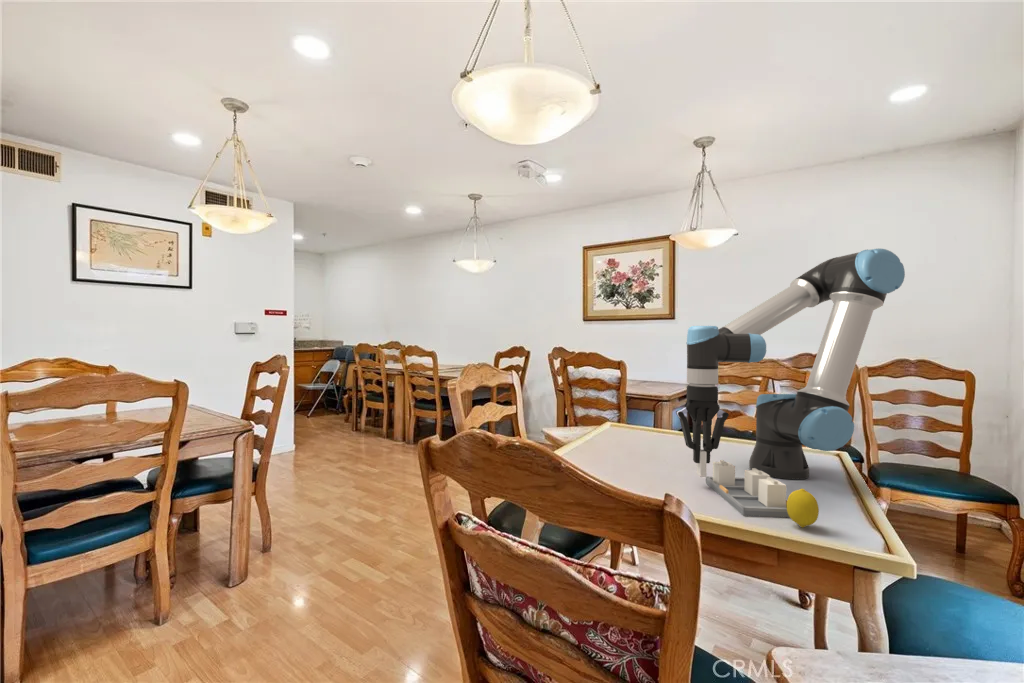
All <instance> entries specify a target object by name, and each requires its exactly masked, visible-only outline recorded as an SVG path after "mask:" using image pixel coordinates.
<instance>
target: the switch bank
mask: <svg viewBox="0 0 1024 683" xmlns="http://www.w3.org/2000/svg"><path fill="white" fill-rule="evenodd" d="M705 484H706V485H707V486H709V488H710V489H712V490H713V491H714V492H715V493H716V494H718V495H719V496H720V497H721V498H722V499H724V500H725V501H726V502H727V503H728V504H729V505H730V506H732V508H734V509H735V510H736V511H737V512H738V513H739V514H740V515H741V516H743V517H762V518H763V517H764V518H765V517H766V518H786V517H787V518H788V519H789V518H790V517H789V515H788V512H787V499H786V508H784V507H766V506H765V505H764V504H762V503H761V502H760V501H758V496H752V495H750V494H749V493H748V492H746V491H745V490H744V484H745V477H736V476H735V486H729V485H718V484H716V483H715V482H714V481H713V476H706V477H705ZM790 519H791V518H790Z"/></svg>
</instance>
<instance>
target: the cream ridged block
mask: <svg viewBox="0 0 1024 683" xmlns="http://www.w3.org/2000/svg"><path fill="white" fill-rule="evenodd" d="M767 477H771V476H770V475H768V474H766V473H765V472H763V471H759V470H757V469H756V468H752V470H751V469H745V470H744V478H745V484H744V490H745V491H746V492H748V493H749V494H750V495H752V496H758V490H759V479H767Z"/></svg>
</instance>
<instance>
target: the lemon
mask: <svg viewBox="0 0 1024 683" xmlns="http://www.w3.org/2000/svg"><path fill="white" fill-rule="evenodd" d="M786 500H787V512H788V515H789V517H790V519H791V520H792V521H793V522H794V523H795V524H797V525H798V526H799V528H805V527H808V526H811V525H813V524H815V523H816V522H817V520H818V519H819V513H820V512H819V511H820V509H819V503H818V501H817V498H816V497H815V496H814V495H813V494H812V493H811V492H809V491H807V490H806V489H805V488H800V489H795V490H793V491H792V492H791V493H790V494H789V495H788V497H787V498H786Z"/></svg>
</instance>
